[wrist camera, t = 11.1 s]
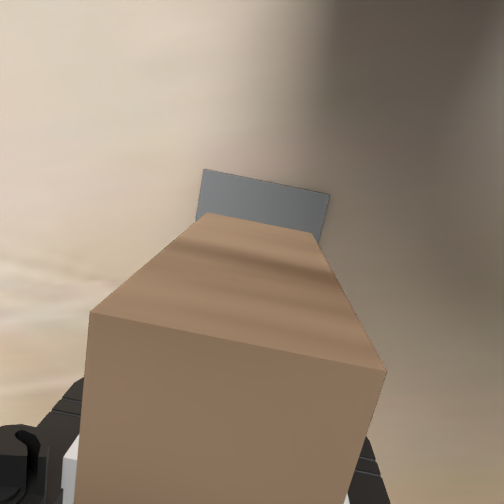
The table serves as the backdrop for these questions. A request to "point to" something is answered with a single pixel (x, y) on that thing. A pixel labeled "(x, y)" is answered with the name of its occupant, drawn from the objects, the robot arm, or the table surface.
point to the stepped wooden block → (226, 375)
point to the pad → (262, 202)
